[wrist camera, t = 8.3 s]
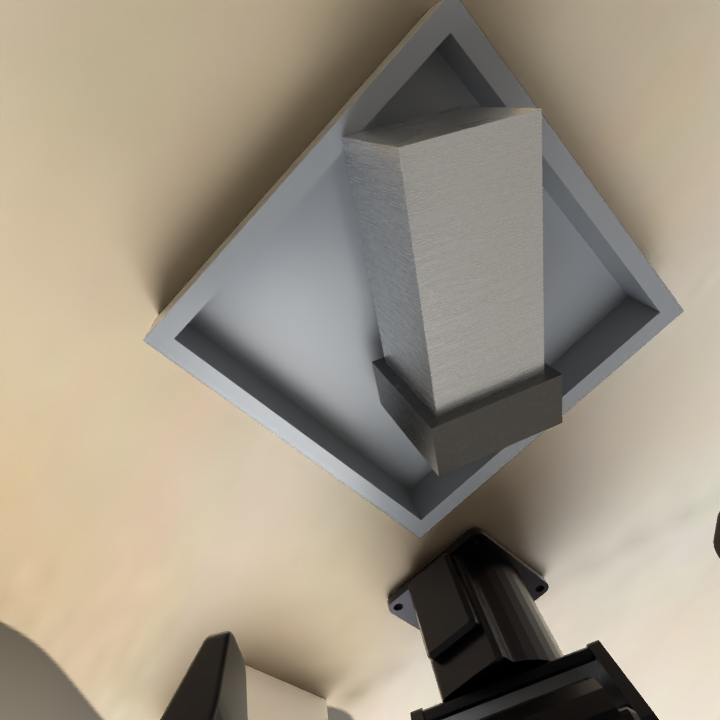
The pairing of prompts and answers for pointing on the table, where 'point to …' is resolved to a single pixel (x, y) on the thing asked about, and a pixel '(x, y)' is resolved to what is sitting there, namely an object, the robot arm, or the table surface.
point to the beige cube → (280, 699)
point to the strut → (457, 277)
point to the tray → (354, 295)
